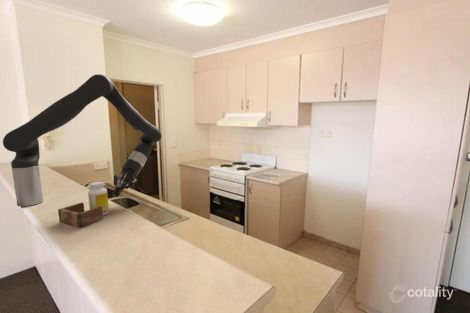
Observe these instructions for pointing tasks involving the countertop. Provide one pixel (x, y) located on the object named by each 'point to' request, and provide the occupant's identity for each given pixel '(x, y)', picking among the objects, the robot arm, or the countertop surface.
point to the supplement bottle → (98, 197)
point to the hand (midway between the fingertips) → (114, 195)
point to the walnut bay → (79, 215)
